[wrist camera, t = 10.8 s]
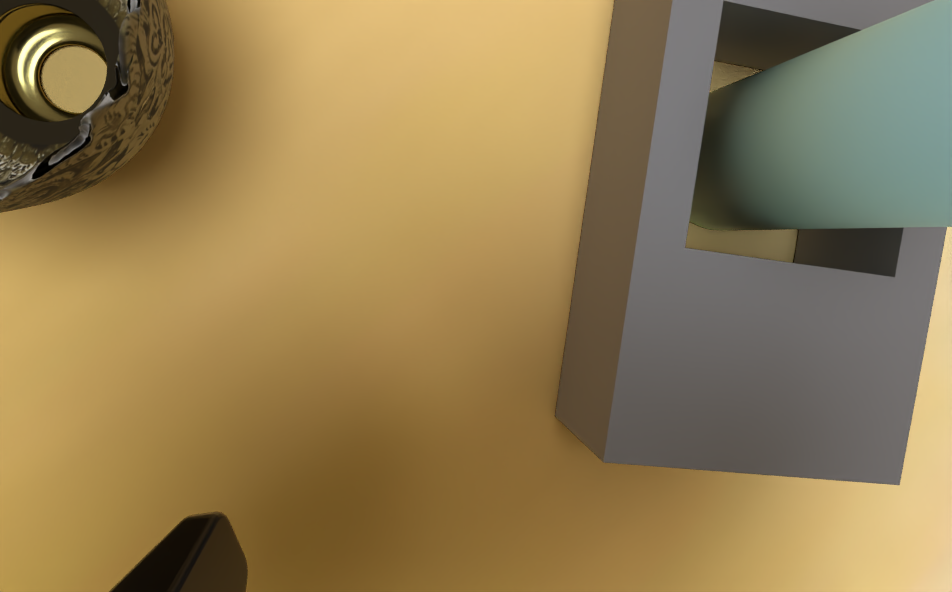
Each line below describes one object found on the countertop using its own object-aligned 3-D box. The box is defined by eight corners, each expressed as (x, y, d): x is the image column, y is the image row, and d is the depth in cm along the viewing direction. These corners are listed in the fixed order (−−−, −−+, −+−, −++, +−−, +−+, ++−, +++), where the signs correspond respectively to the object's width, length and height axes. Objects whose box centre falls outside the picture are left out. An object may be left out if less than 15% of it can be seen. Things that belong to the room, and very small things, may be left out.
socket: (799, 437, 21) (899, 485, 17) (554, 416, 20) (603, 462, 16) (866, 48, 20) (987, 4, 16) (615, -5, 19) (682, -66, 15)
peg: (774, 238, 20) (1469, 242, 8) (649, 220, 20) (1185, 192, 7) (794, 104, 20) (1552, -128, 7) (669, 81, 19) (1265, -219, 7)
